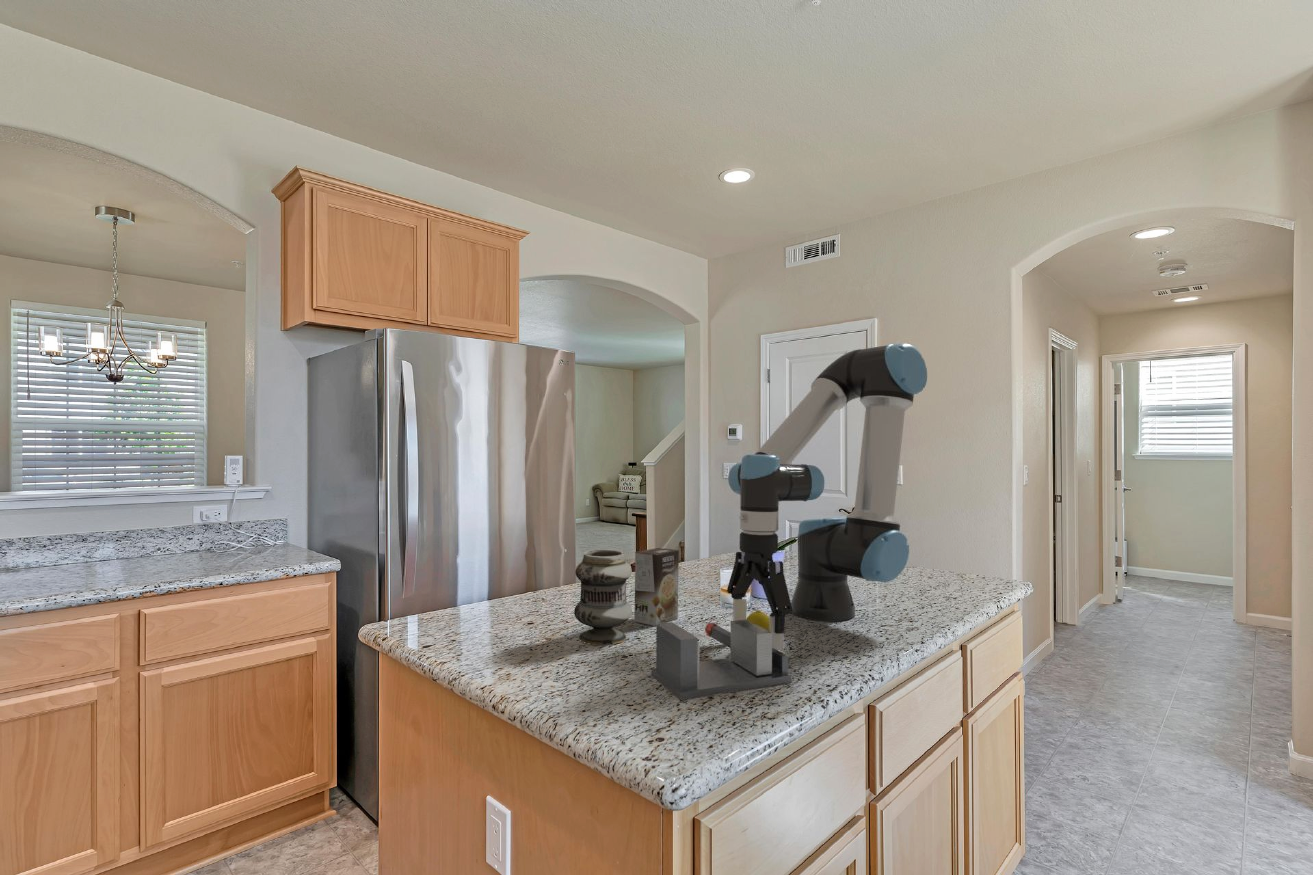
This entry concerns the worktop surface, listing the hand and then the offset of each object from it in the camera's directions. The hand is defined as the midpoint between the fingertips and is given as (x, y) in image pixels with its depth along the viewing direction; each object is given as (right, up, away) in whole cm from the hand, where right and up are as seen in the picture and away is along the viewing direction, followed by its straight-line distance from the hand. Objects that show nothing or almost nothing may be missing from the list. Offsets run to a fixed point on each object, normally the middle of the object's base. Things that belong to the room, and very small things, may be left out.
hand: (757, 639), depth 127 cm
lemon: (0, -2, 0) cm, 2 cm away
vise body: (-9, -2, -16) cm, 18 cm away
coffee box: (-20, -3, +22) cm, 30 cm away
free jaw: (-5, -1, -8) cm, 10 cm away
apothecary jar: (-31, -2, +7) cm, 32 cm away
